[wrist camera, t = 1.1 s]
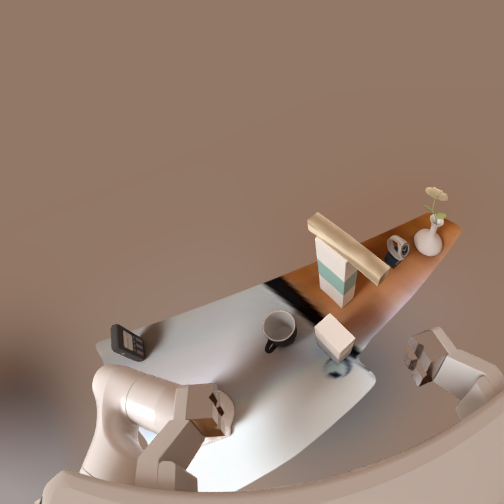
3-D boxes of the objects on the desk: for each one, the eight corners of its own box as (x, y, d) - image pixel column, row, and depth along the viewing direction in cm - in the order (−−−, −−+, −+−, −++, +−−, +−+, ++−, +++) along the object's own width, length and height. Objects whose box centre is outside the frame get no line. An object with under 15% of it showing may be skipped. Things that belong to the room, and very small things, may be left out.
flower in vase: (446, 246, 78) (468, 197, 58) (429, 264, 76) (451, 215, 57) (421, 224, 85) (436, 173, 66) (403, 240, 84) (417, 188, 65)
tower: (342, 308, 78) (345, 263, 57) (320, 287, 84) (314, 238, 63) (353, 297, 79) (360, 249, 58) (331, 277, 85) (329, 226, 64)
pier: (337, 365, 68) (339, 352, 56) (317, 343, 74) (314, 326, 61) (350, 353, 69) (355, 338, 57) (329, 332, 75) (329, 313, 62)
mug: (280, 317, 82) (274, 304, 74) (305, 330, 77) (301, 319, 69) (258, 349, 78) (249, 340, 70) (282, 364, 73) (276, 357, 65)
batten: (377, 286, 52) (380, 278, 49) (308, 229, 65) (307, 220, 62) (387, 275, 53) (390, 267, 50) (318, 221, 66) (317, 212, 63)
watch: (397, 272, 79) (404, 253, 70) (380, 257, 84) (384, 237, 75) (407, 262, 79) (414, 243, 71) (390, 247, 84) (395, 227, 76)
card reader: (146, 360, 84) (119, 348, 72) (137, 363, 84) (110, 351, 72) (143, 337, 89) (118, 322, 78) (135, 340, 90) (109, 326, 78)
